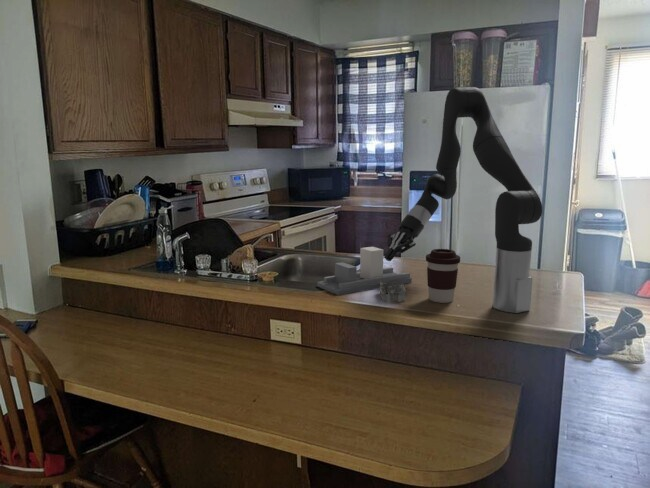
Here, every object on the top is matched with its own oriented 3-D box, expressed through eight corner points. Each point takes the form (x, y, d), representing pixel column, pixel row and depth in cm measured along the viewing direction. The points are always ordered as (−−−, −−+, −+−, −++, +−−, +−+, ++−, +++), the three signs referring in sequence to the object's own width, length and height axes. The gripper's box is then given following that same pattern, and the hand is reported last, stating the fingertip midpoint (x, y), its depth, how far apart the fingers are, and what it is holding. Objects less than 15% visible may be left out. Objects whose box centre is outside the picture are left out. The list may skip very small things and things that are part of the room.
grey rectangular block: (359, 284, 163) (359, 266, 162) (348, 286, 161) (348, 268, 160) (345, 279, 170) (345, 261, 169) (334, 281, 168) (334, 263, 167)
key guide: (411, 282, 172) (411, 273, 172) (337, 295, 157) (337, 285, 156) (389, 274, 182) (389, 266, 182) (317, 286, 167) (317, 277, 166)
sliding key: (382, 279, 169) (383, 249, 168) (370, 281, 167) (371, 251, 165) (371, 275, 174) (372, 246, 173) (359, 277, 172) (360, 248, 170)
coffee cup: (421, 294, 158) (423, 247, 155) (453, 295, 157) (456, 247, 155) (427, 304, 148) (429, 253, 145) (461, 305, 148) (464, 254, 145)
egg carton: (378, 292, 161) (379, 280, 160) (402, 293, 160) (403, 280, 160) (380, 302, 150) (380, 289, 150) (406, 303, 150) (406, 289, 149)
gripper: (397, 212, 181) (369, 249, 176) (423, 216, 170) (393, 256, 165) (408, 225, 184) (380, 262, 180) (434, 230, 173) (405, 270, 169)
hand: (387, 259), depth 173 cm, fingers closed
